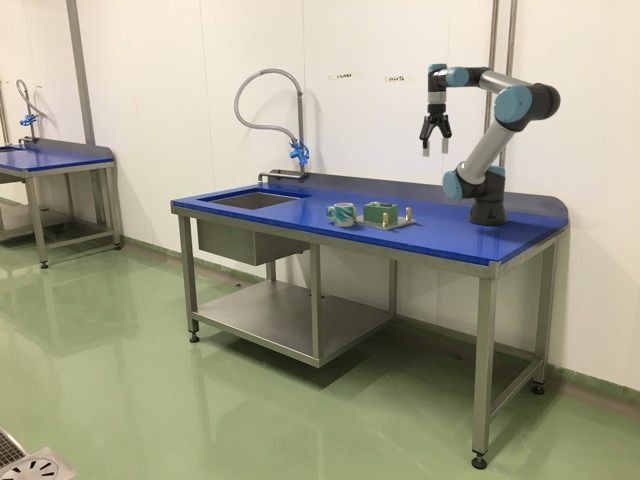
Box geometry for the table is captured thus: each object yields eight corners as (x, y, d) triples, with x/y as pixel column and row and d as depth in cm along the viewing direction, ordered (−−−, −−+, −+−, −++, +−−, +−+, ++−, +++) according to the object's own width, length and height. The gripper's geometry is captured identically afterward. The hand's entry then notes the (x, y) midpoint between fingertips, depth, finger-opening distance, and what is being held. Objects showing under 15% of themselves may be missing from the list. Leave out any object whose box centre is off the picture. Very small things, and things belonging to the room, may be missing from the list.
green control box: (397, 218, 224) (398, 202, 222) (388, 222, 217) (388, 206, 216) (373, 215, 231) (373, 199, 229) (363, 219, 224) (363, 203, 222)
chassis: (415, 222, 222) (415, 207, 220) (386, 230, 210) (386, 215, 209) (376, 214, 238) (376, 200, 236) (347, 221, 227) (347, 207, 225)
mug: (346, 227, 217) (345, 207, 215) (322, 223, 224) (322, 204, 222) (357, 223, 223) (357, 203, 221) (334, 220, 230) (333, 200, 228)
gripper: (446, 102, 231) (444, 152, 236) (410, 104, 215) (410, 157, 220) (461, 102, 226) (459, 152, 231) (426, 103, 209) (425, 158, 215)
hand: (435, 155), depth 225 cm, fingers open, 13 cm apart
